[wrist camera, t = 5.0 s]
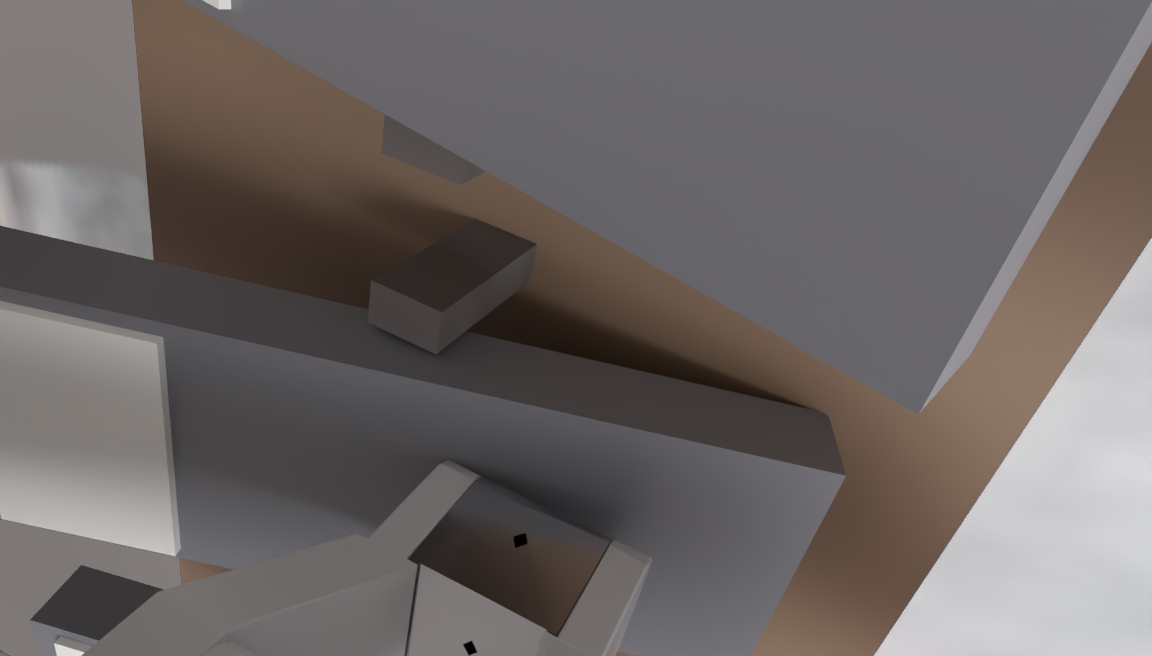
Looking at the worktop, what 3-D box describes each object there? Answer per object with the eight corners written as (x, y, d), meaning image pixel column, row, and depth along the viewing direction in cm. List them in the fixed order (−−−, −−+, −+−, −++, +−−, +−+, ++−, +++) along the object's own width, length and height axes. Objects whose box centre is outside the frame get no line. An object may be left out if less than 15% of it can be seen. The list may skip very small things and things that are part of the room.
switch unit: (734, 792, 19) (657, 1056, 14) (257, 518, 23) (81, 661, 18) (1406, -323, 8) (1945, -637, 3) (250, -498, 12) (-204, -756, 7)
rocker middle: (732, 609, 12) (739, 686, 11) (32, 457, 12) (-33, 521, 11) (827, 413, 10) (848, 483, 9) (-17, 222, 10) (-104, 271, 9)
